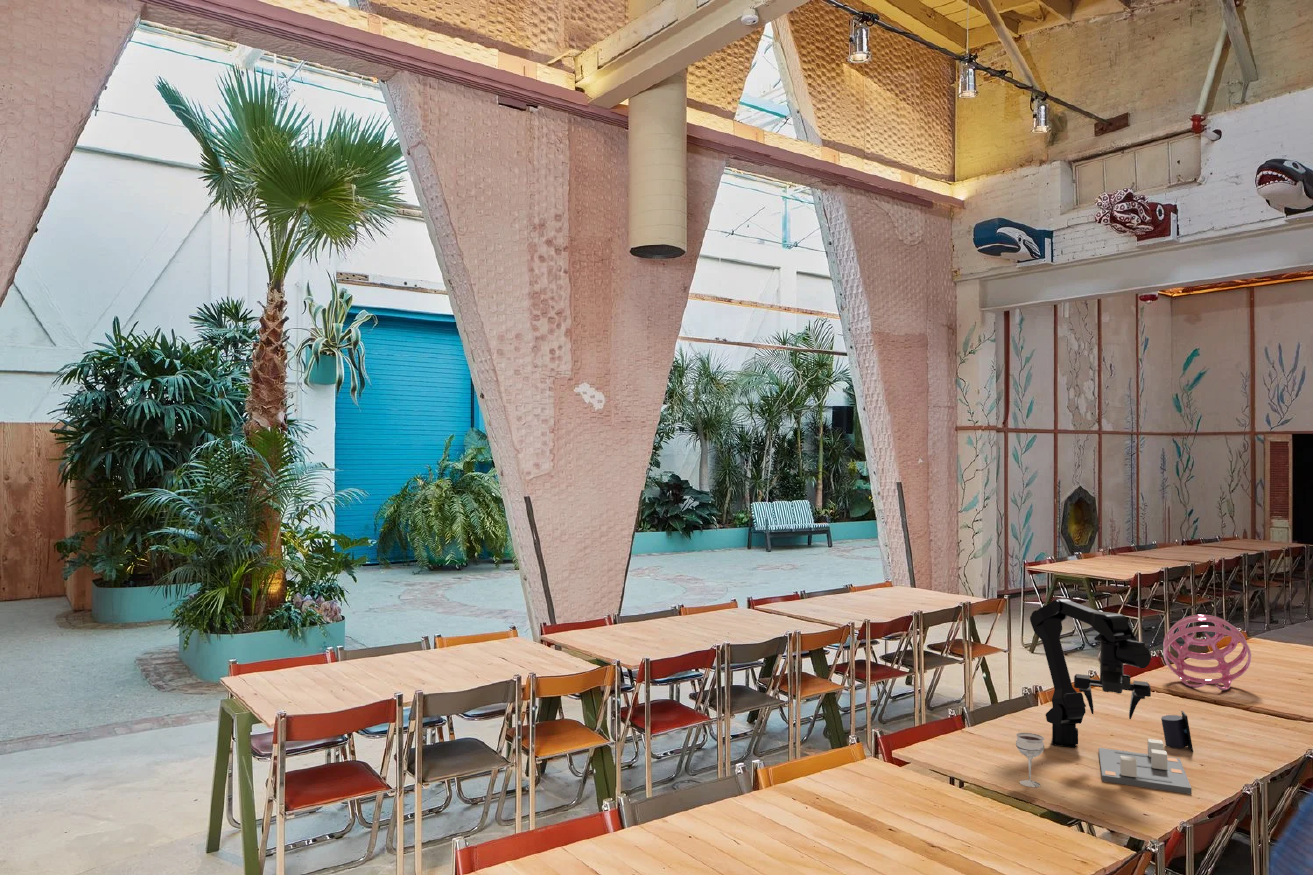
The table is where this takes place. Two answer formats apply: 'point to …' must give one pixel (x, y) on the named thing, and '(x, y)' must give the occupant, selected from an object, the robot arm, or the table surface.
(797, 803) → the table surface
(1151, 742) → the switch far
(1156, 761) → the switch mid
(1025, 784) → the wineglass
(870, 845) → the table surface
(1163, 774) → the switch board
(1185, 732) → the speaker
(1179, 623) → the spiral basket
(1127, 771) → the switch near
